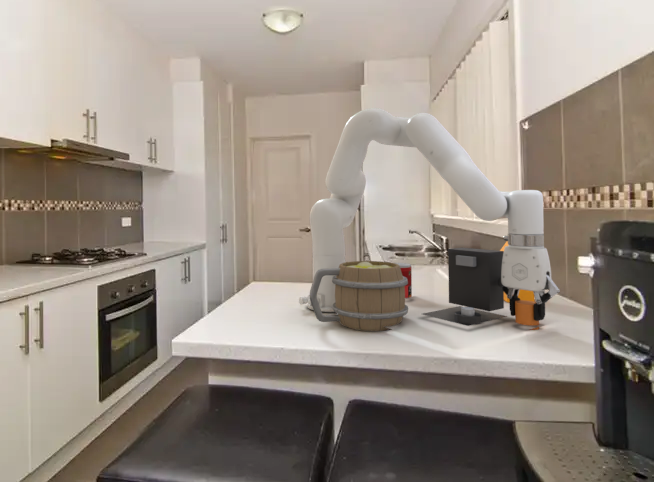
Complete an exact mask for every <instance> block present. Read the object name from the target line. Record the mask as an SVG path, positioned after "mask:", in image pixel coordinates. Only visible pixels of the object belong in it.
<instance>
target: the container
mask: <svg viewBox="0 0 654 482" xmlns="http://www.w3.org/2000/svg"><path fill="white" fill-rule="evenodd" d="M535 303H536V301H535V302H534V301H526V300H519V301H515V316H514V318H515V319H514V320H515V321H514V322H515V323H516V324H519V325H522V326H523V325H524V326H536V327H532V328H529V329H528V331H538V330H540V326H539V325H540V321H535V320H534V304H535Z"/></svg>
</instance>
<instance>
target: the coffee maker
mask: <svg viewBox="0 0 654 482" xmlns="http://www.w3.org/2000/svg"><path fill="white" fill-rule="evenodd" d="M503 253H504V251H500V250H495V249H484V248H470V247H454V248H452V247H451V248H447V256H448V257H447V260H448V261H447V262H448V264H447V265H448V269H447V271H448V303H449V304H452V305H458V306H462V307H472V308H474V309H476V310H481V311H485V312H493V311H498V310H502V309H505V300H504V291H503V289H502V288H501V287H500V286H499V285H498V279H499V278H500V277H501V269H502V259H503Z"/></svg>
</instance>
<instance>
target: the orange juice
mask: <svg viewBox="0 0 654 482" xmlns="http://www.w3.org/2000/svg"><path fill="white" fill-rule="evenodd" d="M505 246H508V241H505V243H504V244H503V246H502V247H501V248H500V249H499V251H504V249H505ZM518 298H520V300H526V301H534V302H536V300H535V296H534V293H533V291H528V290H521V289H520V291H519V294H518ZM504 302H506V303H510V299H508V298H507V295H506V293H505V292H504Z"/></svg>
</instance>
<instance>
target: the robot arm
mask: <svg viewBox="0 0 654 482" xmlns="http://www.w3.org/2000/svg"><path fill="white" fill-rule="evenodd" d="M373 141H374V142H376V143H379V144H380V145H385V146H394V147H395V146H396V147H404V148H405V147H407V148H416V149H417V150H418V151H419V152H420V153H421V154H422V156H423V157H424V158H425V160H426V161H428V163H429V164H430V165H431V166H432V167H433V168H434V170H435V171H436V172H437V173H438V174H439V176H440V177H441V179H443V180H444V181H445V182H446V183H447V184H448V186H450V187H451V189H452V190H453V191H454V192H455V193H456V194H457V195H458V197H459V198H460V199H461V200H462V201H463V203H465V205H466V206H467V207H468V208H469V209H470V211H471V212H472V213H473V214H474V215H475V216H476V217H477V218H478V219H481V220H483V221H486V222H487V221H488V222H492V221H496V220H502V219H507V235H504V236H503V241H504V242H507V241H508V246H505V249H504V253H503V259H502V269H501V277H500V278H499V279H498V285H499V286H500V287H501V288H502V289H503V291H504V292H505V293H506V295H507V298H508V299H510V302H509V311H510V316H512V317H515V301H519V300H520V298H518V294H519V291H520V289H521V290H528V291H533V293H534V299H535V302H536V303H535V304H534V320H535V321H539V322H541V321H542V320H544V319H545V317H546V303H548V301H550V300H551V299H552V298H553V297H555V296H557V295H558V294H559V293H560V292H561V290H560V288H559V287H558V285H557V284H556V283H555V282H554V280H553V279H552V267H551V261H550V260H551V259H550V256H549V252H548V249H547V247H545V235H544V233H545V223H544V222H545V221H544V194H543V193H542V191H540V190H537V189H517V190H512V191H501V190H499V189H498V188H497V187H496V186H495V185H494V183H493V182H491V180H490V179H488V178H487V176H486V175H485V173H483V172H482V170H481V169H480V168H479V167H478V166H477V164H476V163H475V162H474V161H473V159H472V157H471V156H470V154H469V153H468V152H467V150H466V149H465V148H464V147H463V146H462V145H461V144H460V142H458V141H457V139H456V138H455V137H454V136H453V135H452V134H451V133H450V132H449V131H448V130H447V129H446V128H445V127H444V125H443V124H442V123H441V122H440V121H439V120H438V118H436V116H435V115H433V114H431V113H429V112H417V113H416V114H414V115H412V116H411V117H406V116H394V115H393V114H392V113H391V112H389V111H387V110H386V109H383V108H380V107H379V108H378V107H371V108H365V109H362V110H360V111H358V112H356V113H355V114H354V115H352V116H351V117H350V118H349V119H348V121H346V123H345V125H344V127H343V129H342V132H341V135H340V137H339V141H338V144H337V147H336V149H335V151H334V154H333V157H332V159H331V161H330V162H331V163H330V165H329V168H328V170H327V173H326V176H325V182H324V183H325V184H324V185H325V188H326V189H327V191H328V192H329V193H330V196H329V198H322V199H320V200H318V201H316V202H315V203H314V204H313V205H312V206H311V209H310V212H309V227H310V232H311V233H310V234H311V251H312V253H311V254H312V281H313V280H314V277H315V274H316V272H317V271H318V270H320V269H331V268H339V265H340V264H341V263H345V262H347V261H346V240H345V233H344V229H346V228H348V227H349V226H351V224H352V223H353V221H354V220H355V217H356V215H357V211H358V209H359V205H360V203H361V201H362V199H363V195H364V193H365V190H366V185H367V179H366V175H365V173H364V171H363V170H362V167H363V165H364V161H365V160H366V157H367V154H368V153H367V152H368V148H369V144H370V143H371V142H373ZM333 276H335V275H326V276H323V277H322V279H321V282H320V285H319V288H318V292H317V300H318V303H319V306H320V309H321V312H322V313H335V312H334V311H333V308H332V305H333V303H335V284H334V283H333V282H332V278H333ZM547 290H548V291H547ZM298 303H299V304H300V305H305V304H307V309H309V310H311V311H314V310H313V307H312V304H311V301H310V296H309V295H307V296H300V297H298Z"/></svg>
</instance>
